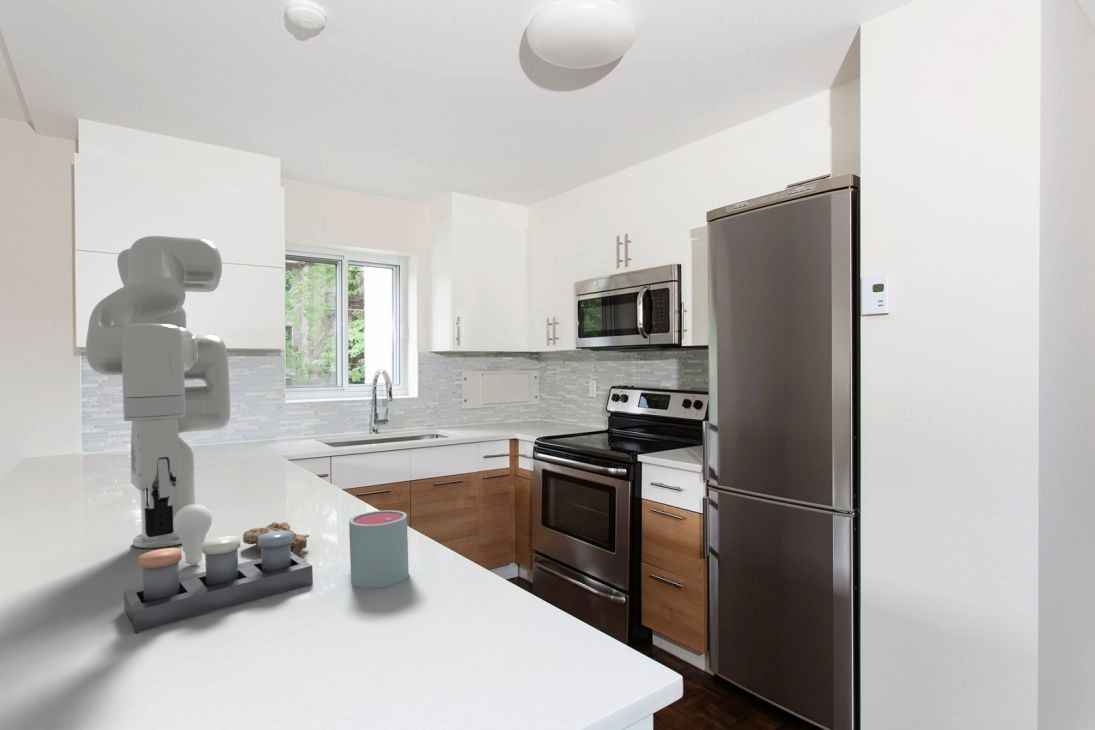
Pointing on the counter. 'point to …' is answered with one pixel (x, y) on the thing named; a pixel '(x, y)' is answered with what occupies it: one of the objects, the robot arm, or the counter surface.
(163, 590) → the terracotta key
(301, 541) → the rock
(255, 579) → the key panel
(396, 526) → the mug
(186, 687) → the counter surface
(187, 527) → the lightbulb
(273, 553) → the light blue cylinder
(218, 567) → the cream key
